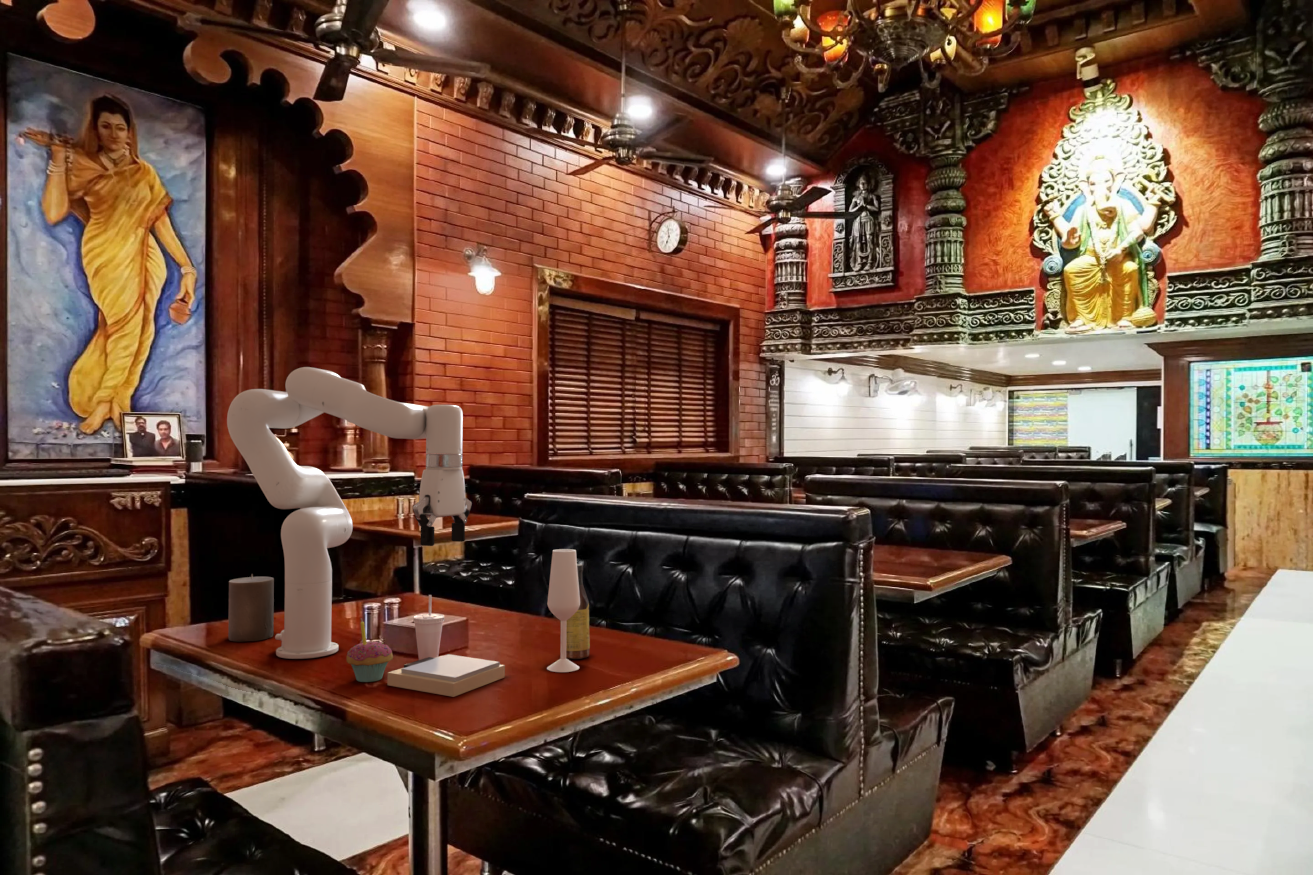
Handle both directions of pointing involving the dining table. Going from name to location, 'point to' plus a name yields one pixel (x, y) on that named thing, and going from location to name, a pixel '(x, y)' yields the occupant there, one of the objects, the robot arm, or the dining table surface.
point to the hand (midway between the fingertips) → (443, 543)
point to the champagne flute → (563, 599)
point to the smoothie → (428, 633)
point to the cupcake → (369, 659)
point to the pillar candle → (251, 609)
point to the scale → (446, 674)
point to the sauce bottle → (578, 626)
